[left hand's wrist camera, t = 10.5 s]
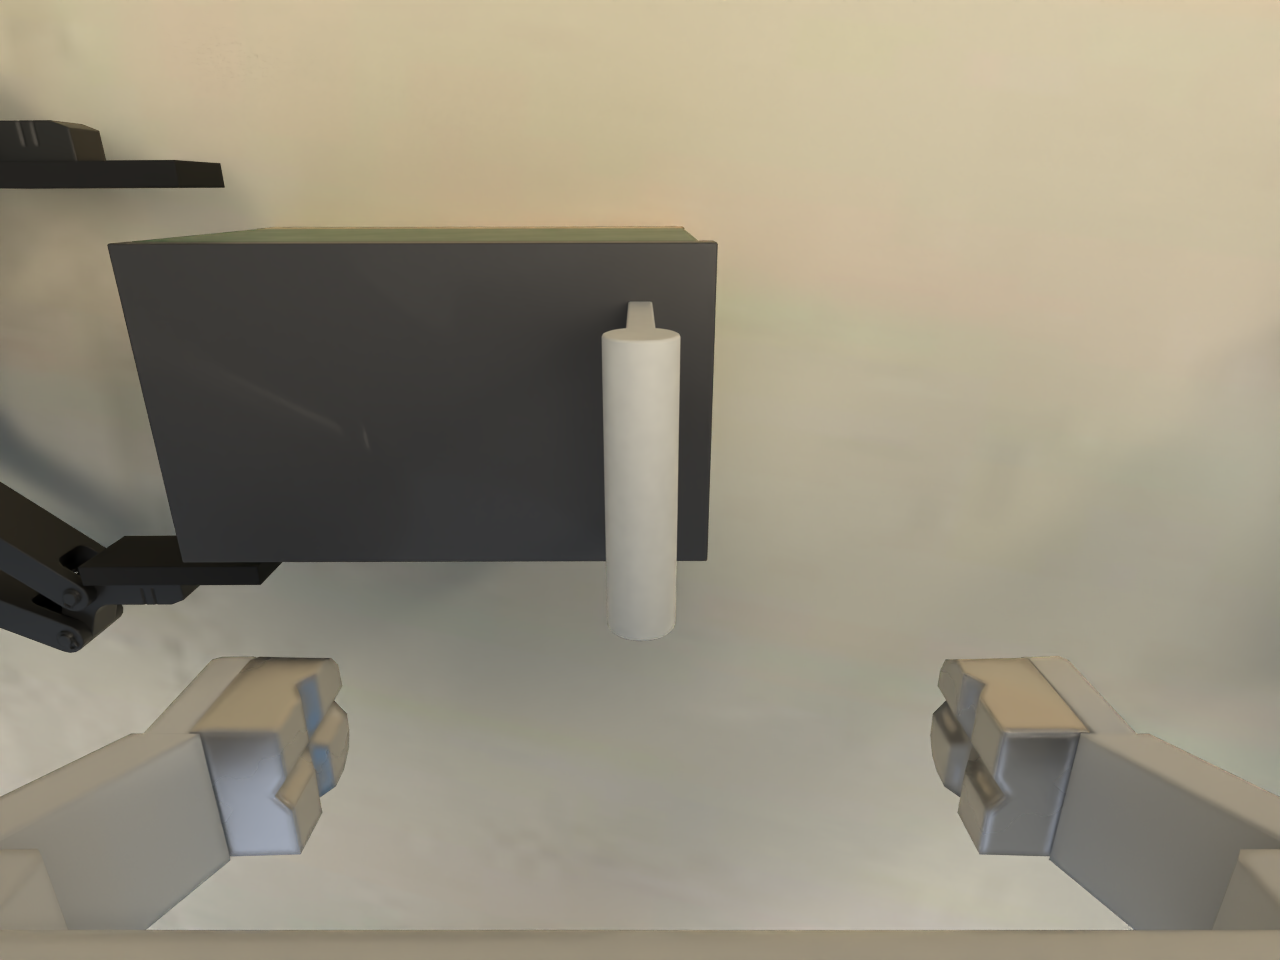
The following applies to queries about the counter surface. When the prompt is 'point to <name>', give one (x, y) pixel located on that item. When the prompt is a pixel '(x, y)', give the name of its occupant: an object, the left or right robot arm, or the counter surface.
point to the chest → (442, 234)
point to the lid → (434, 403)
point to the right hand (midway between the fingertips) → (242, 384)
